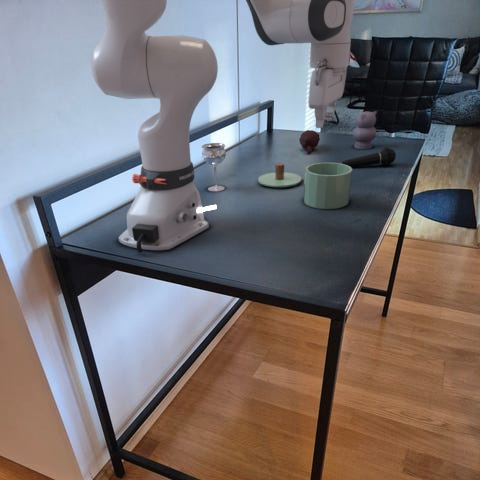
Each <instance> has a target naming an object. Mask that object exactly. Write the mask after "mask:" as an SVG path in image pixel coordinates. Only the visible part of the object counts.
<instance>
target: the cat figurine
mask: <svg viewBox="0 0 480 480" xmlns="http://www.w3.org/2000/svg"><path fill="white" fill-rule="evenodd" d="M377 112H378V110H377V111H368V110H367V111H363V112H361V113H360V114H358V115H357V117H356V119H355V124H356V126H357V127H355V129H354V130H353V132H352V137H353V139H354V140H355V142H354V147H353V148H354V149H357V150H358V149H359V150H370V149H372V148H373V142H372V141H373V140H374V139H375V138H376V136H377V129H376V127H374V126H375V125H376V121H377V118H376V117H377V116H376V115H377Z"/></svg>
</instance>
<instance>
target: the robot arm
mask: <svg viewBox="0 0 480 480" xmlns="http://www.w3.org/2000/svg"><path fill="white" fill-rule="evenodd" d="M167 2H168V0H102V5H103V8H104V13H105V30H104V33H103V36H102V37H101V39H100V41H99V42H98V43H97V44H96V45H95V47H94V49H93V51H92V53H91V58H90V68H91V69H90V70H91V74H92V77H93V79H94V82H95V84H96V85H97V87H98V88H99V89H100V90H101V92H102V93H103V94H105V95H107V96H111V97H114V98H115V97H116V98H120V99H125V100H138V99H139V100H141V99H143V100H144V99H159V105H160V107H159V112H157V113H155V114H153V115H152V116H150V117H149V118H148V119H146V120H145V121H144V122H143V123H141V125H140V127H139V128H138V133H137V138H138V146H139V152H140V158H141V164H142V166H140V167H141V168H140V174H137V173H133V174H132V176H131V181H132V183H133V184H139V185H140V188H139V189H138V192H137V194H136V195H135V198H134V200H133V201H132V203H131V205H130V207H129V209H128V210H127V213H126V225H127V226H126V227H127V228H126V229H125V230H124V231H123V232H122V233H121V234H120V235H119V236H118V242H119V243H120V244H122V245H124V246H126V247H130V248H134V249H137V252H138V254H141V253H143V250H145V251H169V250H172V249H173V248H176V247H177V246H178V245H180V244H182V243H184V242H186V241H187V240H190V239H191V238H193V237H195V236H196V235H198V234H200V233H202V232H204V231H206V230H207V229H209V228H210V225H209V222H208V221H207V220H206V219H205V215H204V212H206V211H212V210H217V204H213V205H207V206H204V207H203V204H202V200H201V194H200V192H199V190H198V188H197V186H196V185H195V181H194V180H195V168H194V163H193V162H192V158H191V145H190V144H191V143H190V142H191V141H190V129H191V128H190V127H191V121H192V118H193V115H194V112H195V110H196V108H197V106H198V105H199V103H200V102H201V101H202V99H204V97H205V96H206V95H208V94H209V93H210V91H211V90H212V89H213V87H214V85H215V83H216V81H217V78H218V71H219V70H218V69H219V66H218V59H217V56H216V53H215V51H214V48H213V47H212V45H211V44H210V43H209V42H208V41H207V40H206V39H205V38H199V37H195V36H189V35H184V34H182V35H179V34H178V35H156V36H154V35H153V36H152V35H147V33H146V31H148V30H149V29H151V28H153V26H155V25H156V24H157V23H158V22H159V20H161V18H162V17H163V15H164V13H165V11H166V8H167ZM245 2H246V3H247V6H248V8H249V11H250V14H251V17H252V21H253V27H254V29H255V31H256V34H257V36H258V37H259V39H260V40H261V41H262V42H263V43H264V44H265V45H267V46H279V45H284V44H310V47H309V48H310V50H309V53H310V54H309V68H311V69H314V70H312V71H311V74H310V80H309V88H308V89H309V90H308V99H307V100H308V102H307V103H308V108H309V109H310V110H314V117H315V128H316V129H322V128H323V127H325V121H326V122H331V121H333V120H334V118H335V111H336V107H337V101H338V100H339V99H341V98H342V97H343V94H344V91H345V85H346V79H347V74H348V73H347V72H348V67H349V65H350V63H351V44H352V43H351V42H352V38H351V26H352V24H353V20H354V11H355V0H245Z"/></svg>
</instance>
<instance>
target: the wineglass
mask: <svg viewBox="0 0 480 480" xmlns="http://www.w3.org/2000/svg"><path fill="white" fill-rule="evenodd" d="M225 147H226V144H224V143H221V142H209V143H205V144H202V145H201V149H202V151H201V157H202V160H203V161H204V162H205V163H207V164H208V165H210V166H211V167H212V168H213V176H214V185H212V186H209V187H208V188H207V190H208V191H209V192H220V191H224V190H225V186H222V185H218V184H217V183H218V182H217V167H218V165H220V164H221V163H222V162H223V161H224V160H225V159H226V156H227V152H226V150H225Z"/></svg>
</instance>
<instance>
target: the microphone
mask: <svg viewBox="0 0 480 480" xmlns="http://www.w3.org/2000/svg"><path fill="white" fill-rule="evenodd" d="M396 157H397V156H396V151H395V150H394V149H393V148H390V147H387V146H385V147H383V149H381V150H380V152H374V153H370V154H366V155H362V156H358V157H353V158H350V159H346V160H343V161H341V162H340V163H341V164H345V165H348V166H350V167H351V168H357V167H363V166H365V167H367V166H368V167H369V166H373V165H379V164H381V165H382V166H385V167H388V166H389V165H391V164H393V163H394V162H395V160H396Z"/></svg>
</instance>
